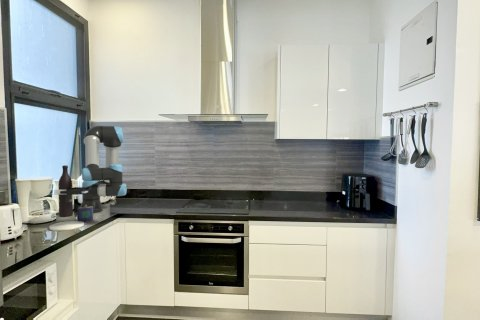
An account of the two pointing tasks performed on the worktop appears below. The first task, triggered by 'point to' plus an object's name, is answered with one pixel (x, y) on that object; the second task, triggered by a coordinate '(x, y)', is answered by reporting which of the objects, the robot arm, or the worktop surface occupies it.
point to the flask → (85, 213)
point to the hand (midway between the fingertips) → (57, 191)
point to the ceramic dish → (66, 226)
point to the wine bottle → (65, 199)
